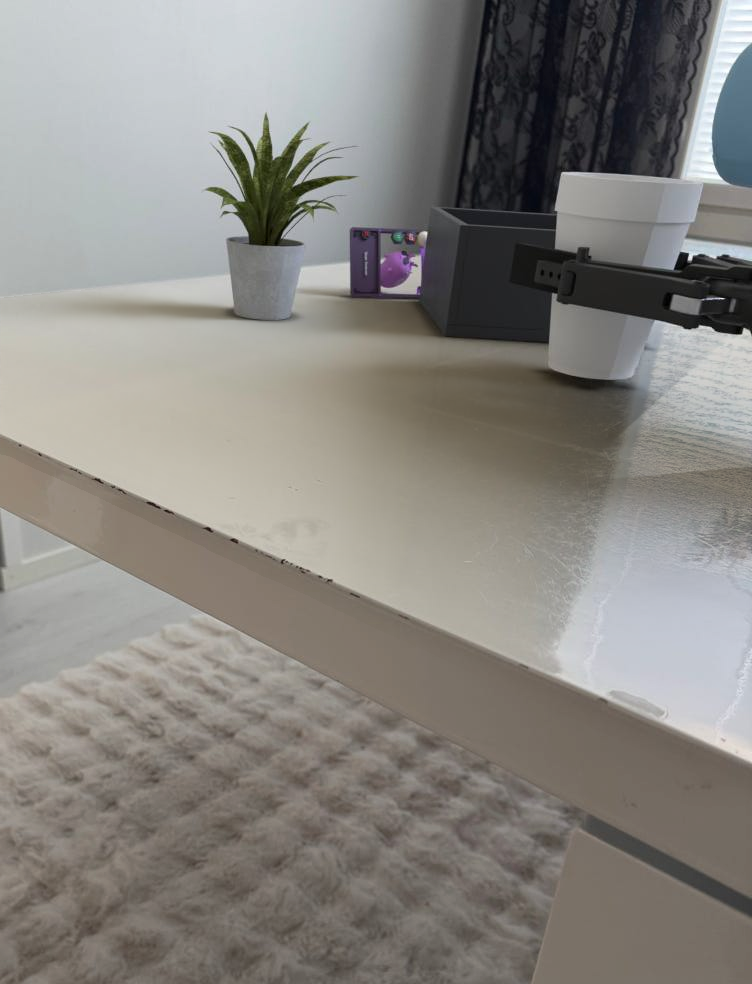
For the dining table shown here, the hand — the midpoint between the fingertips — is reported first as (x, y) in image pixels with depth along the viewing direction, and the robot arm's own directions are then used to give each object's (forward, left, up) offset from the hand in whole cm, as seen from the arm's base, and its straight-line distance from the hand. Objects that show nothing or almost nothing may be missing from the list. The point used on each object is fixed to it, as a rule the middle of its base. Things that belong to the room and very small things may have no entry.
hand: (565, 261), depth 72 cm
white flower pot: (-2, +4, -7) cm, 8 cm away
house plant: (+23, -13, -8) cm, 27 cm away
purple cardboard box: (+10, -30, -8) cm, 33 cm away
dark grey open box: (-2, -18, -8) cm, 20 cm away
